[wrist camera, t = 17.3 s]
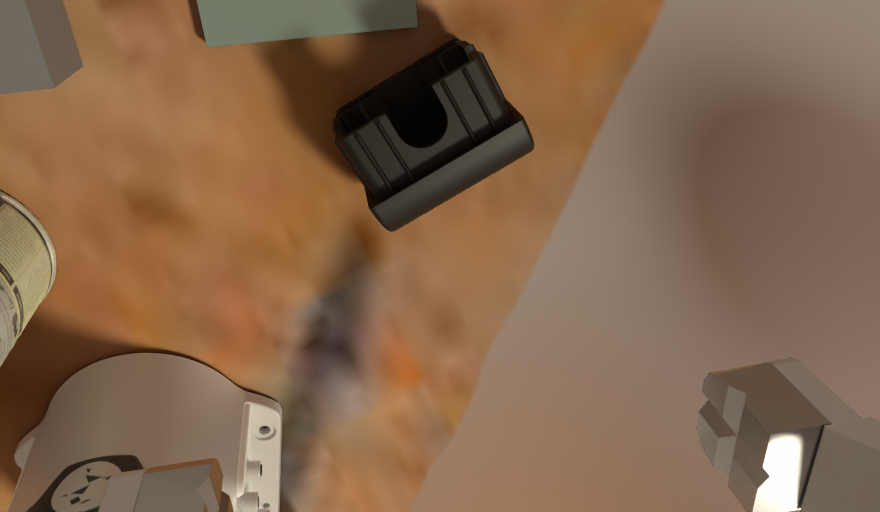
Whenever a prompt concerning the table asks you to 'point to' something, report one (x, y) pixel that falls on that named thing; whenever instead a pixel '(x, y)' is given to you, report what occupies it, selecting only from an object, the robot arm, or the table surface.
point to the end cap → (430, 133)
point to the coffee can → (21, 269)
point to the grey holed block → (35, 45)
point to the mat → (299, 18)
